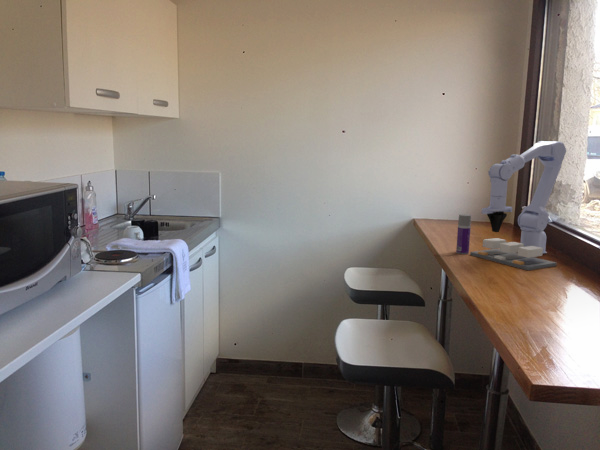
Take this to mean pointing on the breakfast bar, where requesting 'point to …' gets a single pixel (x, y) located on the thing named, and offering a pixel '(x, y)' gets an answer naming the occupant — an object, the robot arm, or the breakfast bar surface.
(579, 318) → the breakfast bar surface
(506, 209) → the robot arm
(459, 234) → the container
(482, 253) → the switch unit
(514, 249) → the button
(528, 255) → the button
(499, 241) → the button
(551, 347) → the breakfast bar surface
